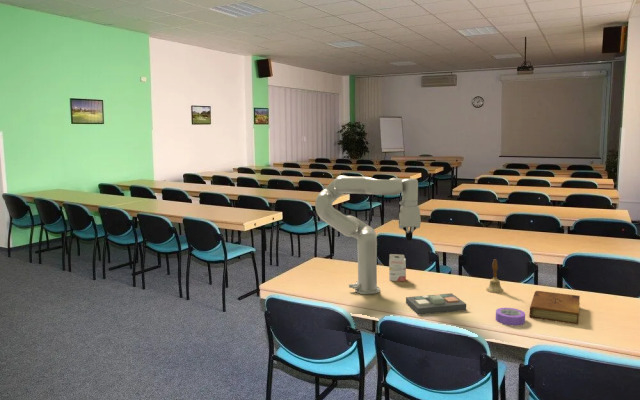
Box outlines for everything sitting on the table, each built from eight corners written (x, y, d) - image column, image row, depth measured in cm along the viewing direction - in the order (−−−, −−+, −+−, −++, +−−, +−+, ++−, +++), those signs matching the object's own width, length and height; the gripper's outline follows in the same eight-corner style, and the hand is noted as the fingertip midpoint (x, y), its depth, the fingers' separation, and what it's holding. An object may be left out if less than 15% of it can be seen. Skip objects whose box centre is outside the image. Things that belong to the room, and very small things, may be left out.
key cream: (419, 309, 223) (419, 303, 223) (415, 305, 228) (415, 300, 227) (429, 308, 224) (429, 302, 223) (425, 304, 229) (425, 299, 228)
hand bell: (498, 294, 244) (499, 262, 241) (482, 290, 250) (483, 259, 248) (506, 290, 249) (507, 259, 247) (491, 286, 255) (492, 256, 253)
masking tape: (501, 313, 219) (501, 305, 219) (528, 319, 212) (529, 311, 211) (491, 321, 210) (491, 313, 210) (519, 328, 203) (519, 319, 202)
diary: (534, 302, 234) (534, 290, 233) (579, 308, 225) (579, 295, 224) (529, 318, 213) (529, 305, 213) (578, 325, 205) (578, 312, 204)
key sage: (433, 305, 224) (433, 299, 224) (429, 301, 229) (429, 296, 228) (444, 304, 225) (444, 298, 224) (439, 300, 230) (439, 295, 229)
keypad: (417, 314, 219) (417, 306, 219) (405, 303, 234) (405, 295, 233) (466, 310, 223) (466, 302, 223) (451, 299, 238) (451, 291, 237)
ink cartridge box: (406, 278, 272) (406, 252, 269) (404, 281, 267) (404, 255, 265) (390, 277, 274) (390, 251, 272) (389, 280, 269) (388, 254, 267)
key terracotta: (448, 306, 225) (448, 301, 225) (443, 302, 230) (443, 297, 230) (458, 305, 226) (458, 300, 226) (453, 301, 231) (453, 296, 231)
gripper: (397, 205, 240) (396, 242, 242) (427, 204, 242) (425, 241, 245) (392, 202, 247) (392, 239, 250) (421, 202, 249) (420, 237, 252)
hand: (408, 239), depth 247 cm, fingers closed
